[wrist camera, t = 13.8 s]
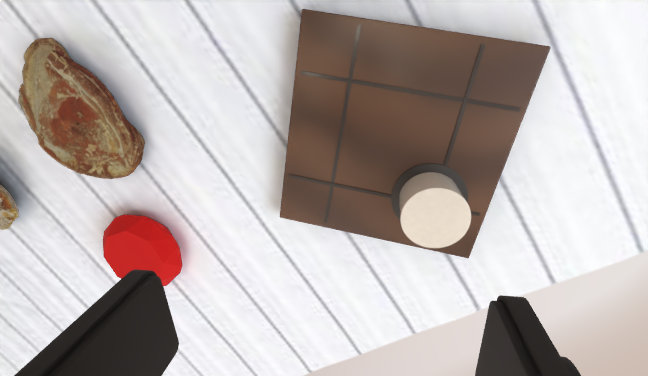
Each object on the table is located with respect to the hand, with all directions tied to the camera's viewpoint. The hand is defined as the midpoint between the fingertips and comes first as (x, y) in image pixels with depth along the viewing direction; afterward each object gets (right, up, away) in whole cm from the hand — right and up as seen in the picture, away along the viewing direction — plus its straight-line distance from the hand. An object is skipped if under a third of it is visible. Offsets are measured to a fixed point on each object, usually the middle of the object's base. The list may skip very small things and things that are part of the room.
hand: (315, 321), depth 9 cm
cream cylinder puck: (+9, +3, +19) cm, 22 cm away
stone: (-23, +11, +24) cm, 35 cm away
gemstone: (-20, -3, +29) cm, 35 cm away
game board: (+6, +8, +19) cm, 22 cm away
